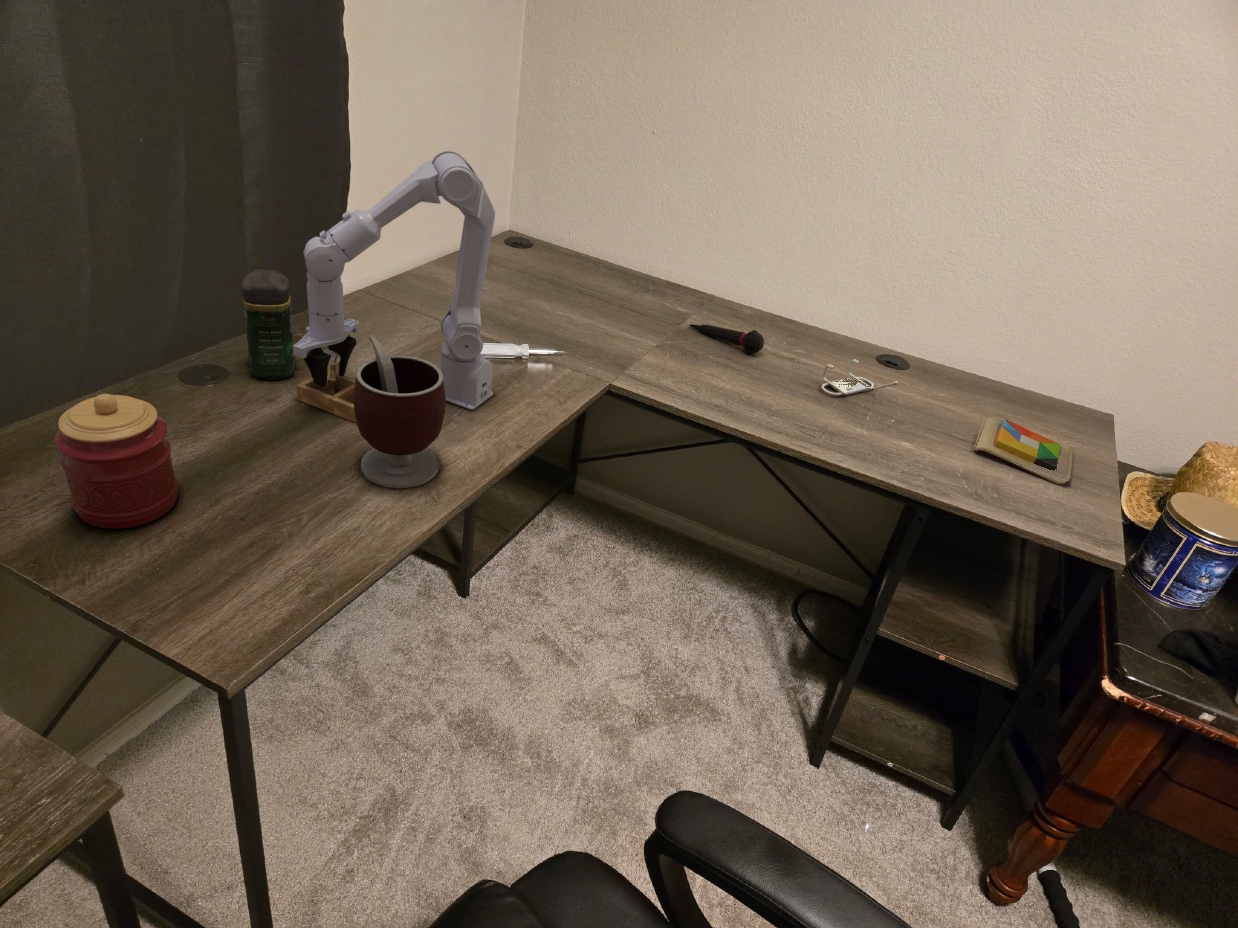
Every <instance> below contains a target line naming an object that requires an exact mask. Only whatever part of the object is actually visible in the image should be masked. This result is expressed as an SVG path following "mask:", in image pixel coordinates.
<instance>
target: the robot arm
mask: <svg viewBox="0 0 1238 928" xmlns="http://www.w3.org/2000/svg"><path fill="white" fill-rule="evenodd" d="M440 197H442V199H443V200H445V201H446V202H447V203H449V204H450V205H452V206H453V207H455V208H457V209H458V210H459V211H460V213H461V214H462V215H463V216H464V217H463V218H464V219H463V224H462V231H461V232H462V233H461V237H460V238H461V239H460V244H459V252H458V257H457V258H458V260H457V264H456V265H457V266H456V273H455V279H454V287H453V292H452V299H451V300H450V302H449V303H448V307H447V311H446V313H445V314H444V316H443V317H442V319H441V321H440V331H441V333H442V335H443V336H444V339H445V340H444V342H443V344H442V346H441V348H440V368H439V369H440V370H441V372H442V374H443V383H444V388H445V396H446V402H449V403H451V404H454V405H457V406H459V407H462V408H464V409H466V410H470V411H473V410H475V409H476V408H477V407H479V406H480V405H481V404H483V403H484V402H485V401H486V400H488V399H489V398H491V397H492V396H494V391H492V390H493V388H492V387H493V376H494V365H493V363H492V361H490V360H489V359H487V358H485V357H484V356H483V355H482V351H483V349H484V341H483V337H482V334H481V330H482V320H481V303H482V297H483V292H484V286H485V279H486V272H487V267H488V261H489V255H490V249H491V243H492V236H493V232H494V224H495V221H496V211H495V208H494V206H493V203H492V201H491V199H490V196H489V195H488V191H486V188H485V185H484V182H483V181H482V180H481V179H480V177H479V176H478V174H477V173H476V171H475V169H474V168H473V166H471V164H470V163H469V162H468V161H467V160H466V159H465V158H464V157H463V156H462V155H461V154H460V153H458V152H456V151H453V150H443V151H441V152H439V153H437V154H436V155H435V156H434V157H433V158H432V160H431V159H429V160H427V161H424V162H423V163H422V164H421V165H420V166H419V167H417V169H415V170H414V172H412V173H411V174H410V175H409V176H408V177H406V178H405V179H404V180H403V181H402V182H400V184H398V185H397V186H395V188H393V189H392V190H391V191H389V193H387V194H386V195H385V196H383V197H382V198H381V199H380V200H379V201H377V202H376V204H374V205H373V206H372V207H371V208H370V209H357V208H356V209H355V210H353V211H352V212H350V211H349V210H346V211H345V212H344V213H343V214H342V215H341V216H342V220H340V221H338V222H337V223H336V224H335V225H334V226H332V227H331V228H329V229H328V230H327V231H326V230H322V231H320V232H319V236H314V237H312V238H310V239H309V240H308V241H307V242H306V243H305V247H304V250H303V251H302V252H303V256H304V262H305V263H304V264H305V267H306V270H307V271H306V281H307V282H306V295H307V296H306V297H307V309H308V310H307V311H308V312H307V313H308V326H307V327H306V326H305V332H306V334H305V335H303V336H302V338H301V339H300V340H299V341H298V342H296V343H294V345H293V353H294V357H297V358H299V359H302V360H303V362H304V363H305V365H306V366H307V368H308V370H309V372H310V375H311V378H313V381H314V384H316V385H319V386H322V387H324V386H326V383H327V368H328V363H329V360H330V358H331V355H329V354H327V353H324V351H323V350H324V349H323V348H324V347H327V349H328V350H331V351H334V352H336V353H337V354H338V355H339V356H340V371H339V376H341V377H343V376H346V371H347V367H348V363H349V360H350V357H351V354H352V353H353V350H354V349H355V347H356V346H357V345H358V344H357V338H355V337H352V336H351V334H352V333H359V332H360V321H359V320H356V319H353V318H348V319H345V306H344V304H345V303H344V284H343V282H342V275H343V273H344V270H345V265H346V264H347V263H350V262H352V261H353V260H354V259H355V258H357V257H358V256H359V255H361V253H363V252H365V251H366V250H367V249H369V248H370V247H371V246H373V245H374V244H376V243H377V242H378V241H379V240H380V239H381V232H382V229H383V228H384V227H386V226H387V225H388V224H390V223H391V222H393V221H394V220H396V219H397V218H399V217H400V216H402V215H403V214H405V213H406V212H408V211H409V210H411V209H412V208H414V207H415V206H417V205H418V204H420V203H427V204H429V203H431V204H437V205H438V204H439V205H440V204H441V200H440Z"/></svg>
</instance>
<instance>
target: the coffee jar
mask: <svg viewBox="0 0 1238 928" xmlns="http://www.w3.org/2000/svg"><path fill="white" fill-rule="evenodd" d="M290 289H291V288H290V283H289V279H288V278H287V276H285V274H282V273H281V272H280V271H279V270H273V269H254V270H253V271H251V272H249V273H248V274H246V276H244V278H243V280H242V285H241V291H242V302H243V311H244V321H245V322H244V323H245V330H246V331H245V332H246V340H247V350H248V362H249V363H248V364H249V370H250V373H251V375H253V376H254V377H255V378H261V379H265V380H279V379H282V378H289V377H291V376H292V375H293V373H294V371H295V366H296V361H295V356H294V353H293V345H294V344H295V343H294V325H293V312H292V311H293V310H292V300H291V291H290Z"/></svg>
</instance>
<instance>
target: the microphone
mask: <svg viewBox="0 0 1238 928" xmlns="http://www.w3.org/2000/svg"><path fill="white" fill-rule="evenodd" d="M689 327H691V328H692V329H695V330H697V331H699V332H700V333H702V334H703V335H706V336H709V337H711V338H715V339H717V340H720V341H722V342H723V341H724V342H727V343H729V344H732V345H735V346H738V347H742V348H743V349H744V351H745V352H746V353H747V355H748V354H749V355H751V354H757V353H759V352H761V351H762V350H763V348H764V347H765V339H764V336H763V335H762V334H761V333H760V332H759V331H758V330H756V329H753V330H750V331H748V332H747V333H746V332H744V331H740V330H735V329H730V328H726V327H721V326H715V325H710V324H702V323H701V324H695V323H693V324H692V323H690V324H689Z"/></svg>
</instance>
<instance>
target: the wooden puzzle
mask: <svg viewBox="0 0 1238 928" xmlns="http://www.w3.org/2000/svg"><path fill="white" fill-rule="evenodd" d="M986 418H987V420H986V423H985V426H984V429H983V431H982V434H981V436H980V438H979V435H980V432H981V429H982V426H983V423H984V420H982V423H981V426H980V428H979V432H978V434H977V437H976V441H975V444H974V447H973V451H974V452H981V451H982V452H986V453H988V454H990V455H992V456H995V457H997V458H999V457H1000V458H999V459H1001V458H1002V459H1001V460H1003V459H1005V460H1004V461H1006V460H1007V461H1006V462H1008V461H1010V462H1014V463H1016V464H1019V465H1023V466H1025V467H1029V468H1030V467H1031V466H1028V465H1030V464H1032V463H1030V462H1033V463H1034V464H1036V465H1039V466H1041V467H1044V468H1047V469H1049V470H1053V471H1054V470H1055V469H1056V471H1057V464H1058V459H1059V455H1060V456H1061V453H1062V450H1063V447H1064V446H1063V445H1061V442H1057V441H1056V440H1053V439H1050V438H1048V437H1046V436H1043V435H1041V434H1039V433H1037V432H1035V431H1032V430H1030V429H1028V428H1026V427H1025V426H1022V425H1020V424H1018V423H1015V422H1014V421H1011V420H1009V419H1007V418H1005V419H1003V420H1002V419H1001V418H998V417H995V416H989V417H986ZM978 438H979V442H978V443H977V441H978ZM976 443H977V446H976ZM975 446H976V448H977V449H978V450H980V451H978V450H976V449H975ZM1069 447H1070V449H1069V450H1070V452H1069V458H1068V463H1067V464H1068V465H1067V469H1066V475H1065V477H1066V478H1065V479H1066V480H1069V481H1070V480H1071V478H1072V471H1073V470H1072V469H1073V461H1074V449H1075V448H1074V447H1073V446H1069ZM1010 462H1009V463H1010ZM1027 464H1028V465H1027ZM1034 464H1032V465H1034ZM1013 465H1014V466H1016V465H1015V464H1013ZM1039 466H1038V467H1039ZM1018 467H1019V468H1020V469H1023V470H1025V471H1027V472H1030V473H1032V474H1034V475H1037V476H1038V477H1040V478H1043V479H1045V480H1047V481H1050V482H1052V483H1054V484H1057V485H1065V484H1066V483H1063V482H1061V481H1059V480H1056V479H1053V478H1050V477H1047V476H1044V475H1041V474H1039V473H1036V472H1033V471H1031V470H1028V469H1025V468H1023V467H1020V466H1018ZM1054 477H1056V474H1055V475H1054Z"/></svg>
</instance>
